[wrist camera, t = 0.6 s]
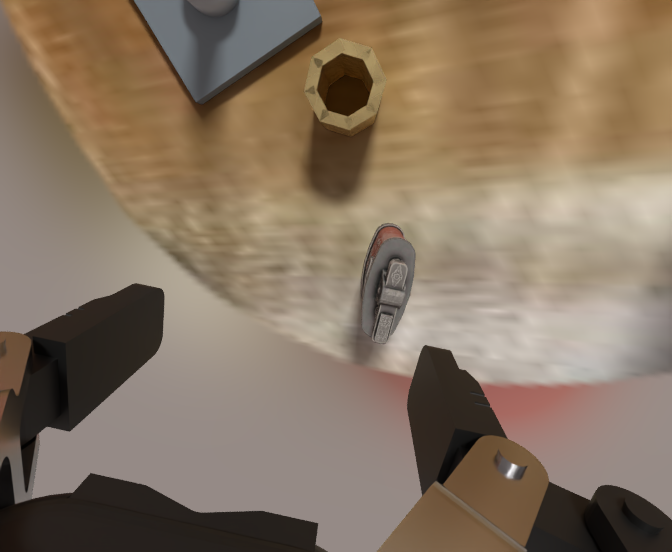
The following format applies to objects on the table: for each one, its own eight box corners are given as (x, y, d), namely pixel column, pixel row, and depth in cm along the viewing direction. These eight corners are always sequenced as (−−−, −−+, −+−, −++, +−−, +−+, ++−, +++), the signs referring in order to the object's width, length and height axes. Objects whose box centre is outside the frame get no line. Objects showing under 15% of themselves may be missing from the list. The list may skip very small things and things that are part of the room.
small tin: (374, 219, 33) (380, 241, 23) (410, 227, 33) (431, 252, 23) (355, 299, 35) (353, 350, 25) (388, 307, 35) (399, 359, 25)
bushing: (360, 52, 29) (360, 24, 23) (390, 113, 30) (396, 101, 24) (305, 88, 30) (292, 69, 24) (336, 146, 31) (330, 141, 25)
